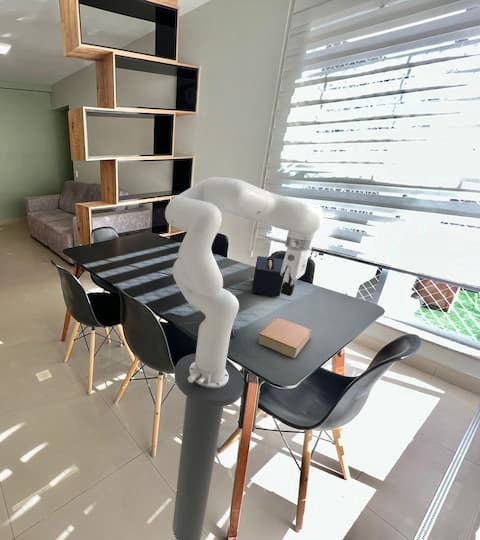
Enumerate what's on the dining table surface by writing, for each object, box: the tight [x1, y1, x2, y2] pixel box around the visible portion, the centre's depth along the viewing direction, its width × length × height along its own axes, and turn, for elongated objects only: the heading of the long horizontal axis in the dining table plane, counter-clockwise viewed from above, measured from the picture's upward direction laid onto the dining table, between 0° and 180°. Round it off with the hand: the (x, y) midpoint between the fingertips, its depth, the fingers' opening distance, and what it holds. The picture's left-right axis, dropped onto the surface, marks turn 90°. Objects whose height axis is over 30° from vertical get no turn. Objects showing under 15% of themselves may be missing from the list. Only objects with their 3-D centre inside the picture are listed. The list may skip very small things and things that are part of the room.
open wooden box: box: [257, 331, 312, 359], centre depth 110 cm, size 17×13×4 cm
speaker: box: [251, 255, 284, 298], centre depth 152 cm, size 22×13×15 cm, turn 154°
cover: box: [258, 316, 312, 350], centre depth 109 cm, size 17×13×1 cm
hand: (286, 294), depth 100 cm, fingers closed
